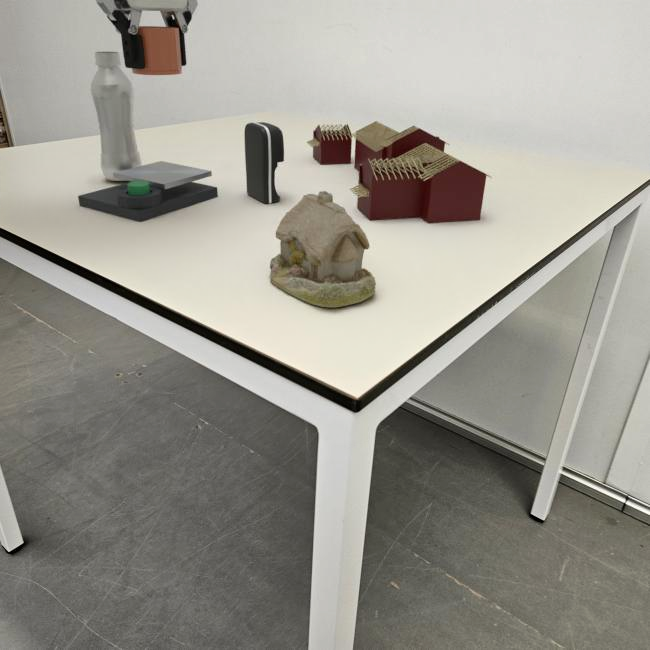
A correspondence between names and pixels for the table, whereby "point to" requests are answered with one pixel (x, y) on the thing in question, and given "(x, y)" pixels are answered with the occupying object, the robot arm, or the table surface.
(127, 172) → the scale pan
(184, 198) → the scale
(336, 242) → the ceramic model
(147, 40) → the ramekin
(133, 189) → the tare button
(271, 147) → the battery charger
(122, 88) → the plastic bottle
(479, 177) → the toy houses
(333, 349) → the table surface
